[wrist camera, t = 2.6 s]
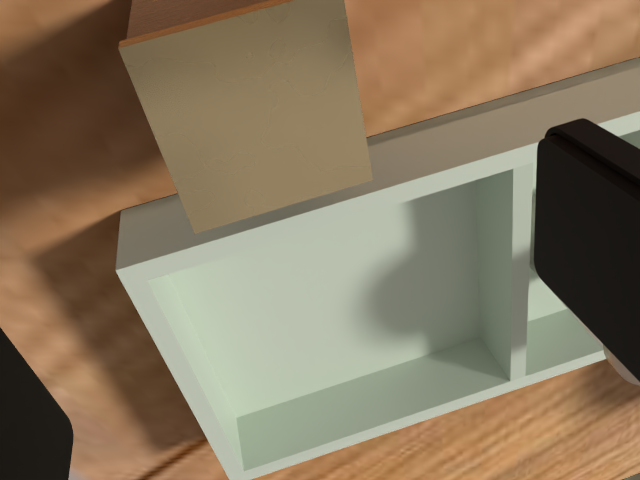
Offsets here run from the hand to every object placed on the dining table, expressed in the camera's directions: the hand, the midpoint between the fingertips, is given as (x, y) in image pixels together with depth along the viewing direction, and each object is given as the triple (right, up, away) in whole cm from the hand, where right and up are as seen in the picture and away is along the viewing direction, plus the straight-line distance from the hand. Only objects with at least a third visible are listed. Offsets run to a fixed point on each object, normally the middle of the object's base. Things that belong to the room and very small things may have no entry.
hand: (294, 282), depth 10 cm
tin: (-3, +8, +10) cm, 13 cm away
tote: (+5, 0, +18) cm, 19 cm away
